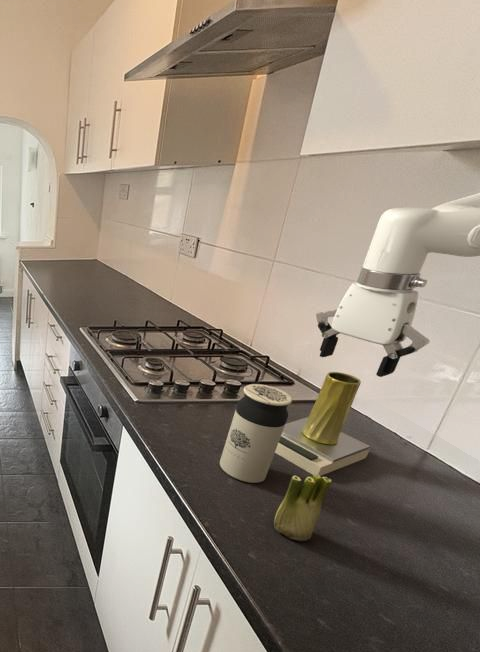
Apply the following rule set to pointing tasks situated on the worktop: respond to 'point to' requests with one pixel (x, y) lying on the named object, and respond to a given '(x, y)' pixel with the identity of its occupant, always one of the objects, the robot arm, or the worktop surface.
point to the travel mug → (255, 432)
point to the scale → (312, 458)
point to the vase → (331, 408)
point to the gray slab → (327, 451)
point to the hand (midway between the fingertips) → (352, 365)
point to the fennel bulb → (301, 507)
